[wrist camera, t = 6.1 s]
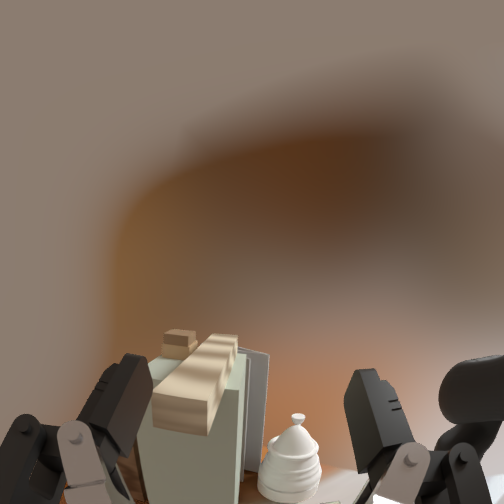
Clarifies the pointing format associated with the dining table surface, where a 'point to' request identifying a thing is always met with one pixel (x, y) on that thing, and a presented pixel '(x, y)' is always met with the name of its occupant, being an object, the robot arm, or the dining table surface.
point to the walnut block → (133, 473)
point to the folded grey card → (253, 409)
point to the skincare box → (336, 503)
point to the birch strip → (195, 387)
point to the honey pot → (290, 466)
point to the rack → (193, 439)
